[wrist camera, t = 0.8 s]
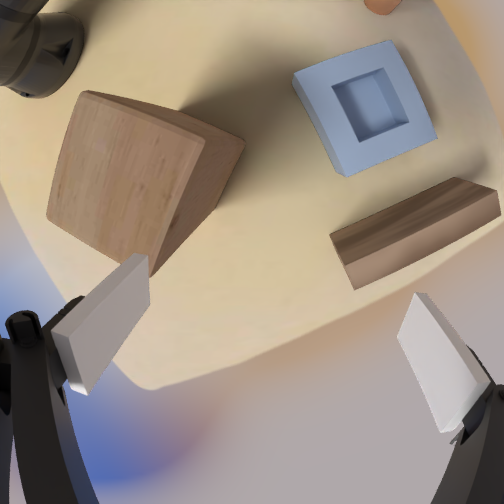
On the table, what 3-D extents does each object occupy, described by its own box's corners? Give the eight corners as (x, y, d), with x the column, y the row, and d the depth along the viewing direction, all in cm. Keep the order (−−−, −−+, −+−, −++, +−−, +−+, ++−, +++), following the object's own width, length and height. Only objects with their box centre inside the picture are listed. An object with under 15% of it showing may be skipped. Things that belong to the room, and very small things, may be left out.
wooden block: (247, 141, 34) (209, 138, 15) (212, 212, 37) (149, 283, 19) (176, 110, 33) (79, 87, 14) (146, 180, 36) (42, 219, 18)
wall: (329, 234, 37) (344, 265, 28) (453, 177, 32) (497, 190, 23) (337, 254, 38) (354, 290, 28) (458, 197, 33) (501, 215, 24)
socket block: (291, 84, 31) (294, 72, 25) (375, 53, 28) (391, 39, 22) (335, 171, 34) (346, 177, 28) (415, 137, 31) (437, 138, 25)
